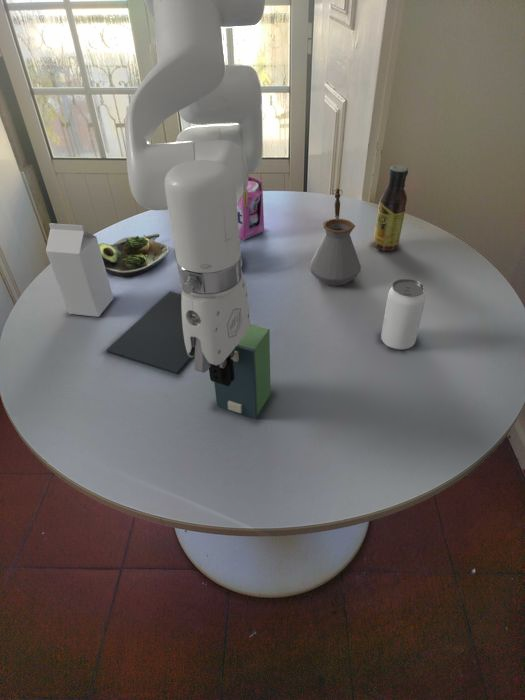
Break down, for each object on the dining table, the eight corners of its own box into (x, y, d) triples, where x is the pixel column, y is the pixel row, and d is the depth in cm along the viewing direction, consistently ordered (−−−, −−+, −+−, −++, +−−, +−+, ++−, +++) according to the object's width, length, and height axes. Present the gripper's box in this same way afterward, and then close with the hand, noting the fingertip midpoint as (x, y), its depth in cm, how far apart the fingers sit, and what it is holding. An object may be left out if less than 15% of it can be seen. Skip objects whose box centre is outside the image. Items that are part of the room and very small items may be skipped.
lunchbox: (233, 383, 82) (228, 317, 73) (271, 395, 80) (270, 328, 71) (215, 408, 78) (207, 341, 69) (254, 421, 75) (251, 353, 66)
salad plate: (138, 232, 128) (135, 216, 125) (186, 249, 120) (184, 233, 117) (81, 262, 116) (75, 245, 113) (130, 283, 108) (125, 266, 105)
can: (416, 333, 91) (429, 280, 84) (413, 353, 87) (426, 300, 79) (383, 327, 93) (392, 275, 85) (378, 347, 88) (387, 293, 81)
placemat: (170, 293, 105) (170, 291, 104) (233, 309, 99) (233, 307, 99) (106, 352, 90) (106, 350, 89) (177, 374, 84) (176, 372, 84)
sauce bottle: (370, 241, 121) (380, 162, 108) (393, 240, 121) (407, 161, 108) (376, 254, 116) (388, 173, 103) (401, 252, 116) (416, 171, 103)
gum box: (268, 232, 126) (267, 182, 117) (247, 242, 122) (245, 191, 113) (211, 208, 139) (206, 161, 131) (190, 216, 135) (183, 169, 126)
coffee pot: (360, 291, 103) (368, 228, 93) (308, 289, 104) (311, 226, 95) (356, 245, 119) (362, 187, 110) (311, 244, 120) (313, 186, 111)
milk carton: (99, 317, 98) (73, 234, 86) (68, 314, 99) (38, 231, 87) (114, 298, 104) (91, 217, 91) (84, 296, 105) (58, 215, 93)
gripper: (205, 311, 50) (220, 424, 62) (264, 248, 60) (267, 356, 72) (148, 295, 53) (172, 407, 65) (213, 238, 63) (224, 343, 75)
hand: (222, 380), depth 68 cm, fingers closed
